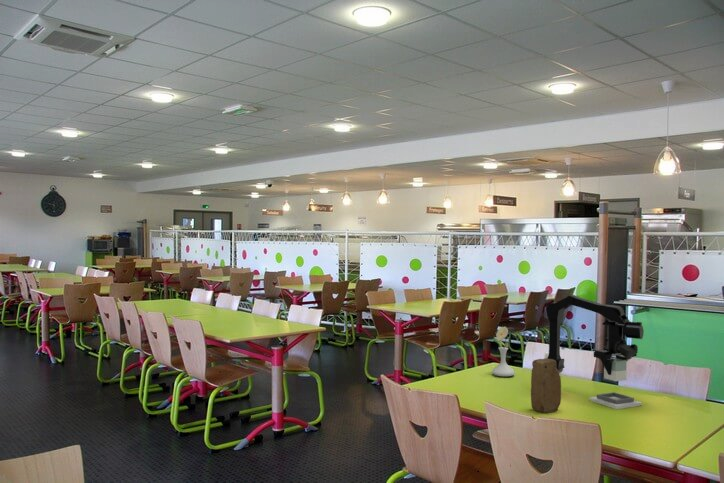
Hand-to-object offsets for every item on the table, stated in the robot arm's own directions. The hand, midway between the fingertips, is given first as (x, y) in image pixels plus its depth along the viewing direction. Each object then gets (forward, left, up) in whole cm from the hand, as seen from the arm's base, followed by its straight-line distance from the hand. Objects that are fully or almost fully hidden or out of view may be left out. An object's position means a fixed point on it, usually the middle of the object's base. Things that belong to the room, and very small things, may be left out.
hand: (615, 374), depth 230 cm
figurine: (+10, +47, -12) cm, 49 cm away
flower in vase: (-12, +57, -12) cm, 59 cm away
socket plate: (0, 0, -12) cm, 12 cm away
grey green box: (0, 0, -2) cm, 2 cm away
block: (-34, +3, -12) cm, 36 cm away
